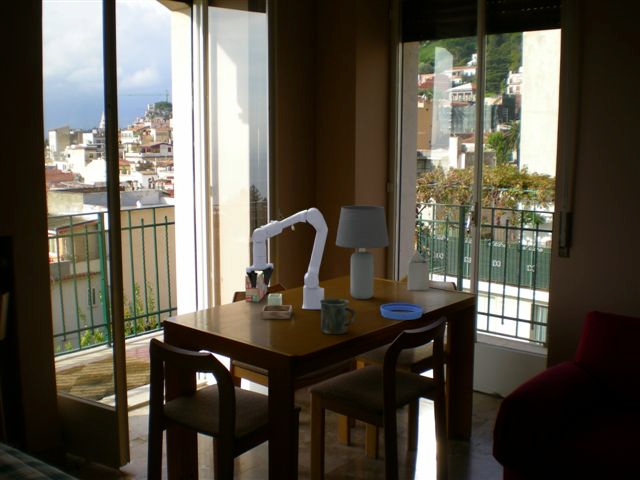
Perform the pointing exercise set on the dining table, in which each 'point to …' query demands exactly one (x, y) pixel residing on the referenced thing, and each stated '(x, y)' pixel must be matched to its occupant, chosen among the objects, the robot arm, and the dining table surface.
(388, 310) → the bowl
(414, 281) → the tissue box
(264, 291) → the stack of blocks
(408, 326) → the dining table surface
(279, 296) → the box
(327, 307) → the mug
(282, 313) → the big crate
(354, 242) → the lamp
